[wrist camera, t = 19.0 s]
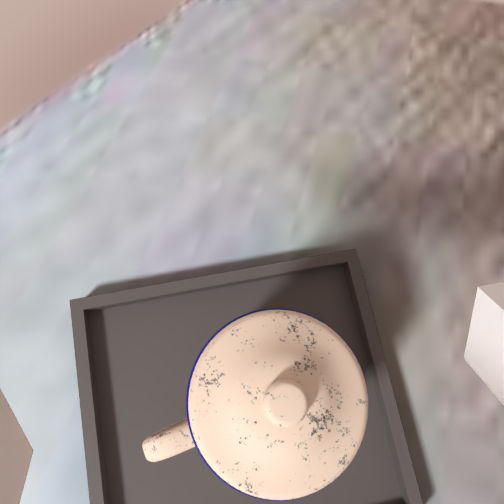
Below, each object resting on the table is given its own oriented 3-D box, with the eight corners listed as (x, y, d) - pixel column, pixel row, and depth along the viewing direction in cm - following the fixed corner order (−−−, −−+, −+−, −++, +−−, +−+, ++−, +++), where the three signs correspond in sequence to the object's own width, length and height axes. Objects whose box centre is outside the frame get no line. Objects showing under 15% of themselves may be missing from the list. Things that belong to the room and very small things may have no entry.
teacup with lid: (297, 305, 32) (338, 269, 21) (351, 431, 30) (427, 465, 19) (135, 371, 30) (85, 369, 19) (181, 509, 29) (156, 598, 17)
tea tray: (348, 255, 34) (355, 248, 33) (416, 515, 30) (428, 524, 28) (77, 304, 32) (69, 300, 30) (108, 593, 28) (100, 608, 26)
